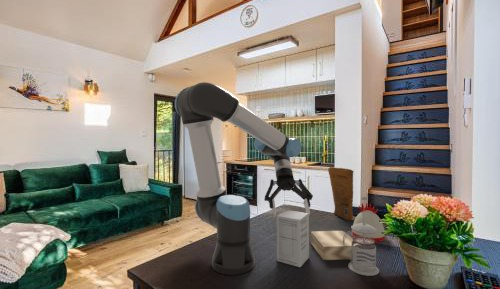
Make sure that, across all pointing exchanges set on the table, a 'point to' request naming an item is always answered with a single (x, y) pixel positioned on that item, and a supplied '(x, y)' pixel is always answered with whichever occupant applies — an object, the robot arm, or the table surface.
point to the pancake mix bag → (342, 191)
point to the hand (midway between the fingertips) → (291, 215)
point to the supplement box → (293, 237)
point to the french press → (363, 250)
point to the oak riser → (332, 244)
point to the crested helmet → (369, 223)
